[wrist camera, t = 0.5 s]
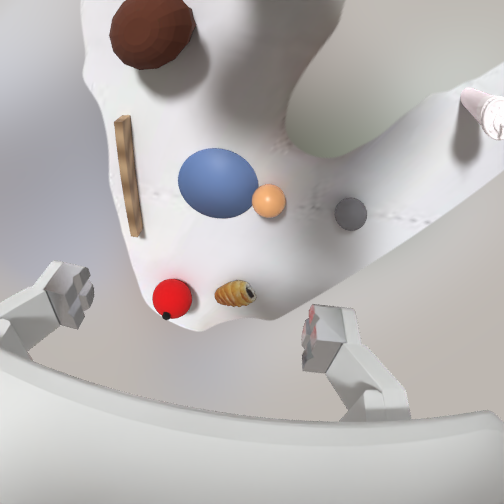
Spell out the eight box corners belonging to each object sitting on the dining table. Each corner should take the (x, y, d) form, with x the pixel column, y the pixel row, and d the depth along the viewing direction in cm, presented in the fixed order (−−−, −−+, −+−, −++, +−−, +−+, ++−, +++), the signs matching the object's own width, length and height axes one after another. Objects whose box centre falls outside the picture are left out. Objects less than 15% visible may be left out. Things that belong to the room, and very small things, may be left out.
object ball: (255, 175, 52) (251, 193, 48) (288, 180, 52) (287, 198, 48) (252, 202, 56) (248, 221, 52) (283, 207, 56) (282, 226, 52)
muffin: (162, -22, 30) (132, -28, 23) (221, 16, 34) (203, 17, 27) (118, 38, 37) (82, 49, 29) (171, 75, 41) (144, 92, 34)
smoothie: (454, 117, 39) (498, 157, 29) (451, 80, 35) (499, 109, 25) (485, 115, 37) (532, 153, 27) (483, 79, 33) (535, 109, 23)
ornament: (179, 266, 69) (167, 301, 62) (203, 291, 74) (194, 326, 67) (151, 276, 72) (138, 310, 65) (174, 299, 77) (164, 332, 70)
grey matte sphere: (337, 189, 52) (341, 207, 48) (367, 194, 52) (374, 213, 48) (330, 214, 55) (332, 234, 51) (358, 219, 55) (363, 239, 51)
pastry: (224, 302, 76) (221, 315, 74) (209, 285, 73) (205, 298, 70) (259, 294, 73) (257, 307, 70) (245, 275, 69) (242, 288, 66)
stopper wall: (122, 115, 46) (114, 121, 44) (130, 115, 46) (122, 121, 44) (136, 226, 62) (131, 236, 60) (143, 227, 62) (137, 237, 60)
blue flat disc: (177, 144, 49) (177, 145, 49) (262, 153, 49) (262, 154, 49) (180, 212, 59) (179, 213, 58) (253, 222, 58) (253, 223, 58)
